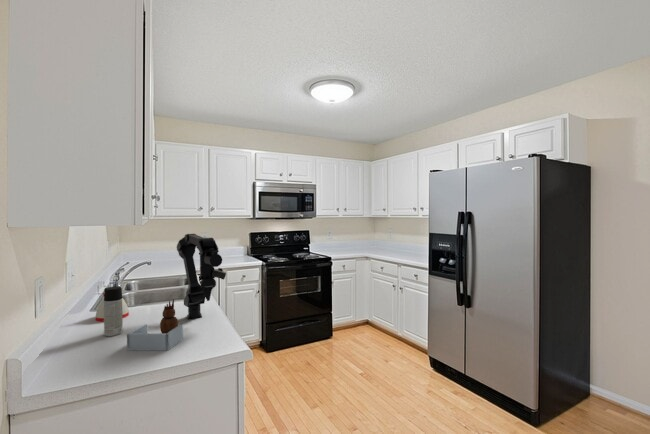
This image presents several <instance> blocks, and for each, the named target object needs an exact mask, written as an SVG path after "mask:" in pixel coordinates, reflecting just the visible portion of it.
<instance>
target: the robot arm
mask: <svg viewBox="0 0 650 434" xmlns="http://www.w3.org/2000/svg"><path fill="white" fill-rule="evenodd" d="M196 249H197V250H198V255H199V270H200V271H199V272H200V274H199V276H198V274H197V270H196V266H195V265H196V264H195V260H194V259H195V258H194V255H195V252H196ZM176 251H177V254H178V256H179V257H180V258H181V259H182V261H183V263H184V269H185V275H186V280H187V281H186V282H187V286H188V287H187V290H186V291H185V294H186V295H185V296H184V299H183V306H185V307H187V308H188V309H187V312H188V313H187V315H186V317H187V320H191V319H193V320H194V319H199V318H202V317H203V316H202V313H201V305H203V304H205V302H209V301H211V300H210V299H211V296H212V290H213V289H214V288H215V287H216V286H217V280H216V279H215V278H218V279H221V280H225V279H226V276H227V272H226V271H224V269H223V268H221V267H219V266H221V264H222V262H223V257H222V256H221V255H220V254H219V252H220V251H219V247H218V244H217V242H216V240H215V239H214V238H213V237H203V236H201V235H198V234H197V233H186V234H184V236H183V237H182V238H181V239H179V241H178V242H177V244H176ZM217 267H219V268H217ZM216 268H217V269H216ZM205 300H206V301H205Z"/></svg>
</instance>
